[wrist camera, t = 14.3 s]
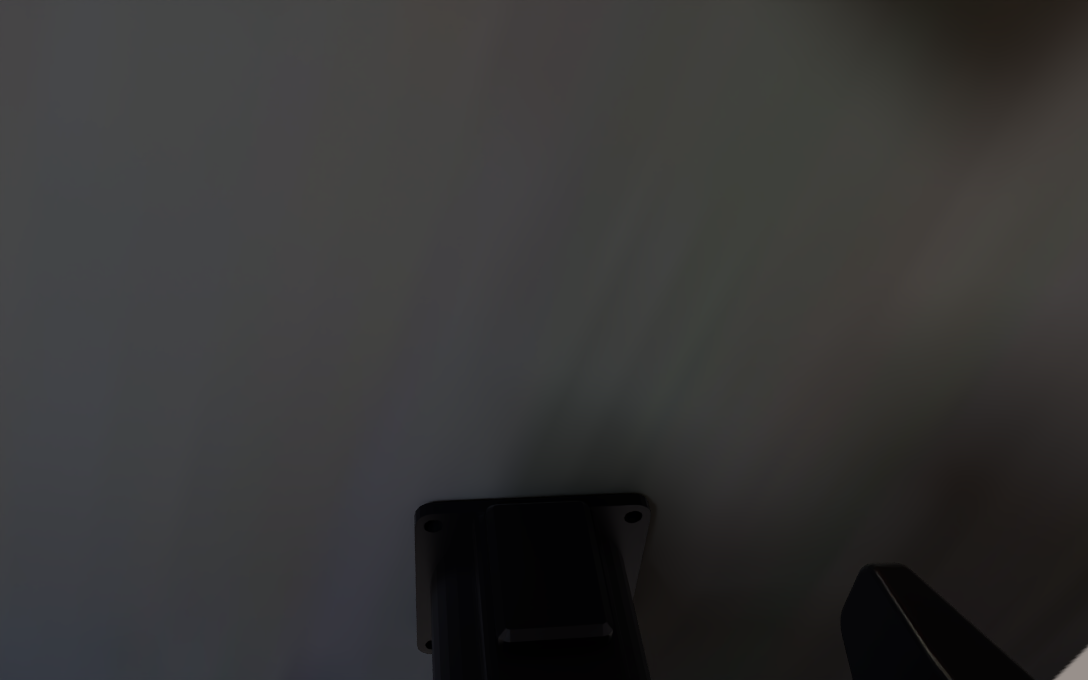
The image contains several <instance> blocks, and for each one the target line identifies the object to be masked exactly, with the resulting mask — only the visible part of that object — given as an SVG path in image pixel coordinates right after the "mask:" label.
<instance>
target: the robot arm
mask: <svg viewBox="0 0 1088 680" xmlns="http://www.w3.org/2000/svg"><path fill="white" fill-rule="evenodd" d="M631 511H633V512H631ZM650 518H651V511H650V508H649V504H648V501H647V499H646V498H645V497H644V496H642V495H639V494H619V495H596V496H573V497H549V498H526V499H503V500H479V501H456V502H433V503H427V504H424V505H422V506H420V507H419V508H418V509H417V510H416V512H415V564H416V611H417V646H418V649H419V650H420V651H421V652H423V653H427V654H432V663H433V680H651V679H650V674H649V670H648V666H647V661H646V657H645V653H644V648H643V644H642V639H641V635H640V631H639V626H638V622H637V617H636V613H635V609H634V604H633V598H634V594H635V589H636V584H637V580H638V575H639V570H640V565H641V561H642V556H643V551H644V547H645V542H646V537H647V532H648V528H649V523H650ZM431 520H436V521H431ZM841 631H842V636H843V640H844V645H845V649H846V653H847V657H848V661H849V665H850V669H851V673H852V678H853V680H1035V679H1034V678H1033V677H1032V676H1030V675H1029V674H1028V673H1027V672H1026V671H1025V670H1024V669H1022V668H1021V667H1020V666H1019V665H1018V664H1017V663H1016V662H1015V661H1013V660H1012V659H1011V658H1010V657H1009V656H1008V655H1007V654H1006V653H1004V652H1003V651H1002V650H1001V649H1000V648H999V647H998V646H996V645H995V644H994V643H993V642H992V641H991V640H990V639H989V638H987V637H986V636H985V635H984V634H983V633H982V632H981V631H980V630H978V629H977V628H976V627H975V626H974V625H973V624H972V623H970V622H969V621H968V620H967V619H966V618H965V617H964V616H963V615H961V614H960V613H959V612H958V611H957V610H956V609H955V608H953V607H952V606H951V605H950V604H949V603H948V602H947V601H946V600H944V599H943V598H942V597H941V596H940V595H939V594H938V593H937V592H935V591H934V590H933V589H932V588H931V587H930V586H929V585H927V584H926V583H925V582H924V581H923V580H922V579H921V578H920V577H918V576H917V575H916V574H915V573H914V572H913V571H912V570H910V569H909V568H908V567H906V566H904V565H902V564H899V563H876V564H867V565H865V566H864V567H863V568H862V569H861V570H860V572H859V574H858V576H857V578H856V580H855V583H854V585H853V587H852V589H851V591H850V594H849V596H848V598H847V600H846V602H845V605H844V607H843V610H842V614H841Z"/></svg>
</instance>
